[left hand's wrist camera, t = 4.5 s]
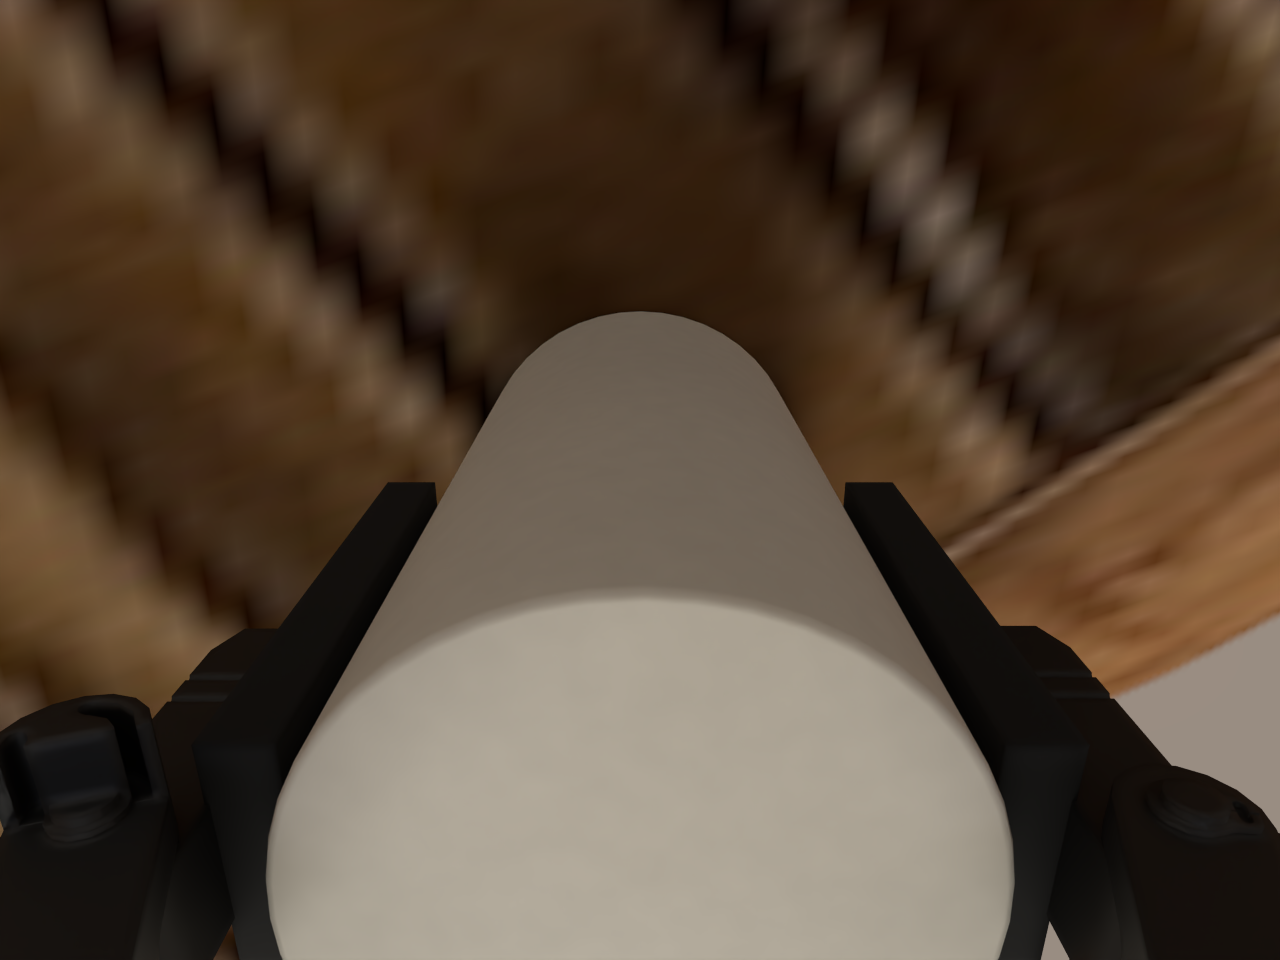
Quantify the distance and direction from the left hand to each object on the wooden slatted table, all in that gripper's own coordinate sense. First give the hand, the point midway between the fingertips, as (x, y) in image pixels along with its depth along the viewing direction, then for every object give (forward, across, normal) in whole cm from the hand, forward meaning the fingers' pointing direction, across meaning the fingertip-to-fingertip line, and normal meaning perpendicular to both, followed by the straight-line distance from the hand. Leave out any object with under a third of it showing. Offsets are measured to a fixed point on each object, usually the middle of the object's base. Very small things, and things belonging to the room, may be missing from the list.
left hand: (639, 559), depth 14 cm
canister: (+5, 0, 0) cm, 5 cm away
